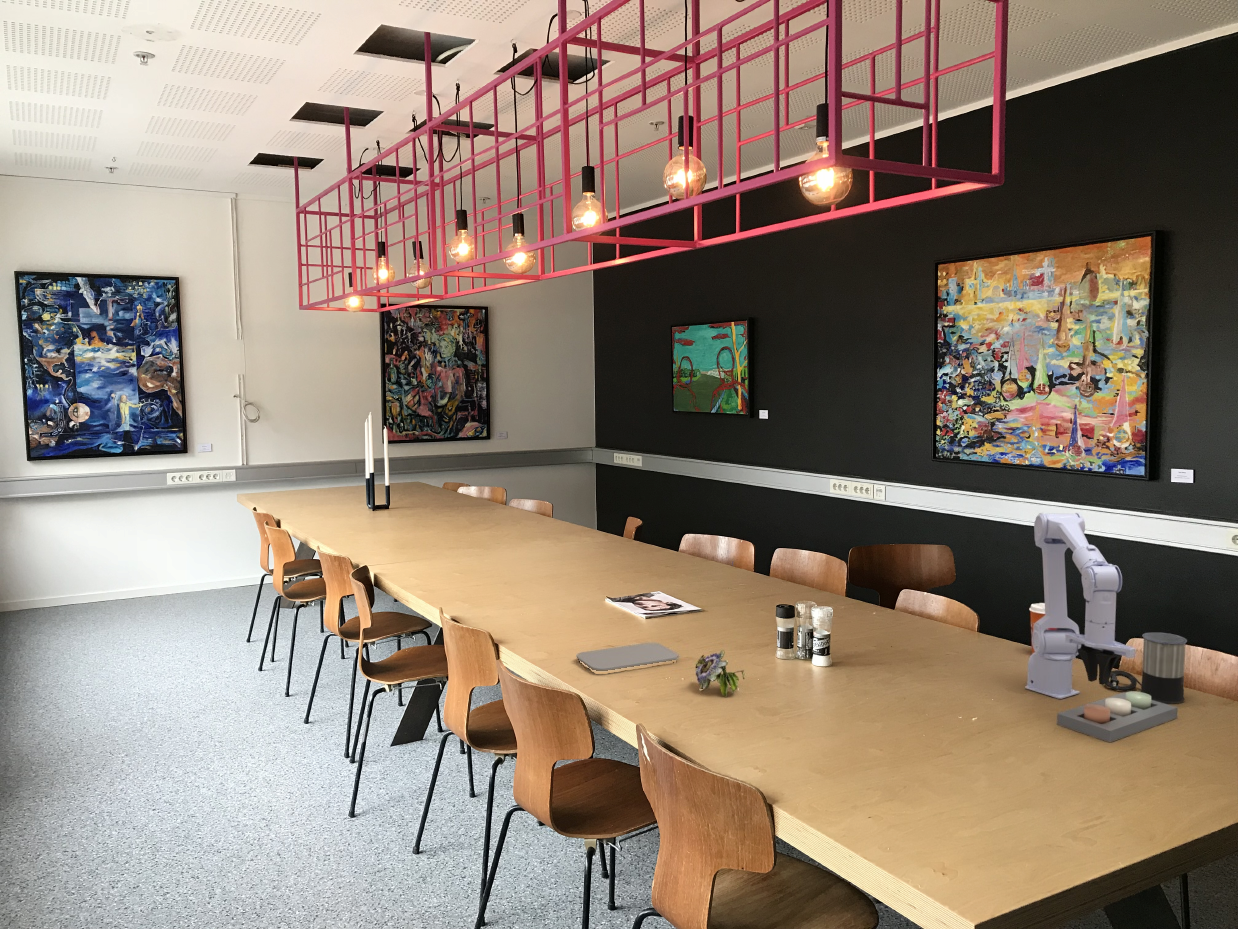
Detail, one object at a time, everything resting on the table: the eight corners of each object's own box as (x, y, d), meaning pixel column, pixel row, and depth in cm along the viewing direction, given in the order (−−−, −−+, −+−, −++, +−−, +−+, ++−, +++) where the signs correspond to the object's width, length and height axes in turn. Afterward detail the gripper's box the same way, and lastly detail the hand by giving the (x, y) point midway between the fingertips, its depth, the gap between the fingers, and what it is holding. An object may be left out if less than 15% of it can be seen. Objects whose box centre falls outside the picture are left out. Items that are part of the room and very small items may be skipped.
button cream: (1100, 712, 201) (1100, 700, 201) (1113, 708, 204) (1113, 696, 203) (1122, 719, 197) (1122, 707, 196) (1135, 715, 199) (1135, 702, 199)
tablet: (683, 664, 246) (683, 656, 246) (596, 678, 235) (596, 670, 235) (655, 649, 261) (655, 641, 261) (572, 661, 250) (572, 653, 250)
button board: (1056, 724, 199) (1057, 713, 199) (1124, 702, 212) (1124, 692, 212) (1110, 742, 188) (1110, 731, 188) (1177, 718, 202) (1177, 707, 202)
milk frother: (1191, 706, 209) (1194, 643, 208) (1117, 701, 213) (1119, 640, 211) (1167, 686, 223) (1169, 627, 222) (1098, 682, 227) (1100, 624, 225)
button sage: (1120, 705, 205) (1121, 694, 205) (1133, 701, 208) (1133, 690, 207) (1142, 712, 201) (1143, 700, 201) (1155, 708, 203) (1155, 696, 203)
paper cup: (1021, 653, 252) (1023, 604, 251) (1042, 650, 254) (1044, 601, 253) (1043, 661, 244) (1045, 610, 243) (1065, 657, 247) (1066, 607, 246)
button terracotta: (1078, 719, 197) (1079, 707, 197) (1092, 715, 199) (1092, 703, 199) (1101, 727, 193) (1101, 714, 192) (1114, 722, 195) (1115, 709, 195)
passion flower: (702, 711, 224) (683, 667, 229) (740, 697, 228) (720, 654, 233) (715, 699, 215) (695, 653, 220) (754, 685, 219) (734, 639, 224)
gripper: (1057, 616, 198) (1055, 676, 199) (1122, 631, 186) (1120, 695, 187) (1076, 611, 202) (1074, 670, 203) (1141, 626, 189) (1139, 689, 191)
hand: (1098, 682), depth 195 cm, fingers closed
